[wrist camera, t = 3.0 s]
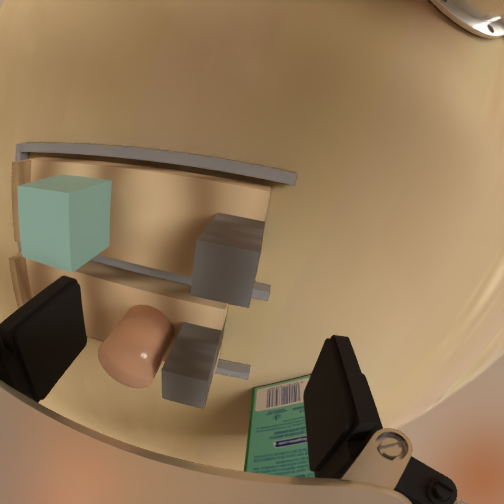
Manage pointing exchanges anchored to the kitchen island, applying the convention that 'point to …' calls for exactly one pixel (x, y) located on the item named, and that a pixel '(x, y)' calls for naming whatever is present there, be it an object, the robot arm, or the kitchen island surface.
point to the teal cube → (64, 220)
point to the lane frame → (171, 157)
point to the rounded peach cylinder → (137, 346)
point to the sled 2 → (141, 293)
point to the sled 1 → (173, 221)
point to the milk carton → (278, 430)
